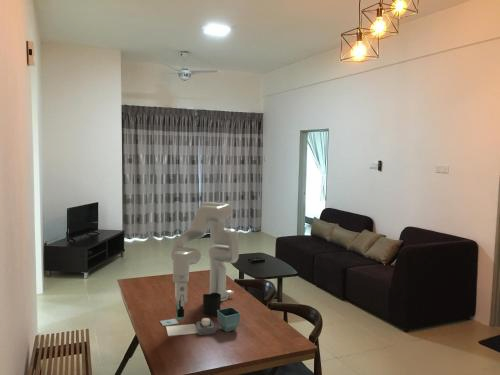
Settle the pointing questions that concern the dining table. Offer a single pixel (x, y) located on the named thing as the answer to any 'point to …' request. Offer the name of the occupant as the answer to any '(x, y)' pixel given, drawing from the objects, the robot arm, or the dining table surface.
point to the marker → (179, 317)
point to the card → (169, 322)
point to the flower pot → (228, 318)
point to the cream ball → (205, 322)
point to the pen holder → (211, 304)
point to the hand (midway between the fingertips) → (180, 314)
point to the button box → (205, 328)
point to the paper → (181, 330)
